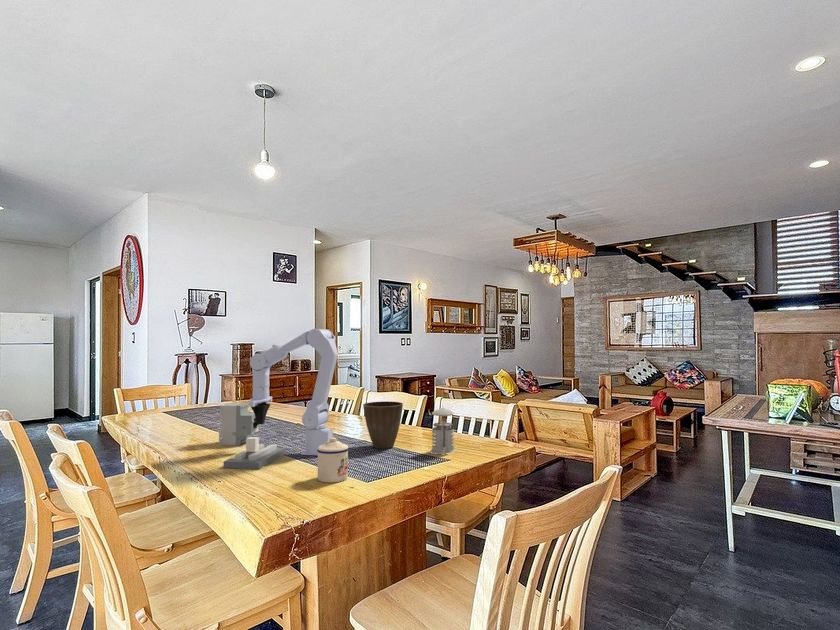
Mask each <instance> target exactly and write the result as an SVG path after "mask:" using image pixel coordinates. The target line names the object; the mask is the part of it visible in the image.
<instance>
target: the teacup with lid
mask: <svg viewBox="0 0 840 630" xmlns="http://www.w3.org/2000/svg"><path fill="white" fill-rule="evenodd" d="M349 450H350V448H349V446H348V444H346V443H343V442H341V441H339V440H337V437H334V436H333V438H330V439H329V441H328V442H326V443H325V444H323V445H320V446H319V447H318V448H317V451H318V455H317V480H318V481H319V482H321V483H327V484H329V483H330V484H331V483H334V482H335V483H339V482H340V481H341V482H344V481H345V480H348V477H349V476H348V475H349V474H348V473H349V472H348V471H349V469H348V468H349V460H348V459H349ZM343 480H344V481H343ZM341 482H340V483H341Z"/></svg>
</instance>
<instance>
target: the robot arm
mask: <svg viewBox="0 0 840 630" xmlns="http://www.w3.org/2000/svg"><path fill="white" fill-rule="evenodd" d="M305 345H307V346H308V345H309V346H311V347H312V348H314V350H315V351H317V352H318V354H319V355H320V356H321V359H320V364H319V366H318V372H317V376H316V380H315V384H314V385H315V386H314V387H313V388H314V389H313V393H312V397H311V400H310V402H309V404H308V405H307V406H306V410H305V412H303V414H302V416H301V422H302V424H303V426H304V427H305V428H304V429H305V431H304V432H305V433H304V435H305V436H304V439H305V440H304V441H305V442H304V445H305V447H304V451H303V452H301V453H300V455H301V456H318V451H317V448H318V447H319V446H320V445H323V444H325V443H326V442H328V441H329V439H330V438H333V437H334V431H333V429H332V428H330V427H327V425H326V424H327V422H328V420H329V418H330V414H329V408H330V407H329V406H330V405H329V403H328V398H329V395H330V390H331V385H332V382H333V377H334V374H335V370H336V364H337V359H338V355H339V352H338V348H337V345H336V336H335V335H334V333H333V332H332V331H331V330H330V329H328V328H327V329H326V328H323V329H321V328H312V329H309V330H308V331H305V332H303V333H302V334H300V335H298V336H297V337H295V338H293V339H292V340H290V341H288V342H287V343H285V344H280V343H279V344H277V343H273V344H272V345H271V346H272V347H271V348H269V349H267V350H262V351H261V353H255V354H254V355H252V356H251V358H250V360H249V365H250V367H251V368H252V397H251V398H249V401H248V402H247V403H248V408H249V407H250V408H251V410H252V412H254V414H255V418H256V422H257V424H259V425H263V424H265V421H266V417H267V413H268V411H269V408H270V407H271V402H273V396H270V372H271V370H270V369H271V367H272V366H273V365H275V364H277V363H279V362H280V361H283V360H285V359H286V358H287V357H288V353H291V352H293V351H295V350H297V349H299V348H302V347H303V346H305Z"/></svg>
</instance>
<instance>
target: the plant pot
mask: <svg viewBox="0 0 840 630" xmlns="http://www.w3.org/2000/svg"><path fill="white" fill-rule="evenodd" d="M403 406H404V403H403V402H400V401H387V400H386V401H371V402H366V403H363V406H362V407H363V413H364V419H365V423H366V428H367V432H368V435H369V437H370V440H371V443H372V444H371V445H373V448H374V447H376V448H375V449H378V448H387V449H391V448H390V447H392V448H393V447H394V446H395V442H396V440H397V437H398V434H399V429H400V426H401V425H400V423H401V420H402V414H403V413H402V412H403Z"/></svg>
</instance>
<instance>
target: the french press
mask: <svg viewBox="0 0 840 630" xmlns="http://www.w3.org/2000/svg"><path fill="white" fill-rule="evenodd" d="M445 385H446V382H445V381H441V382H440V386H445ZM431 415H432V416H435V417H436V416H437V417H449V416H450V417H451V416H453V415H455V412H454V411H453V410H451V409H448V408H444V407H442V408H437V409H436V410H434V411H432V412H431ZM447 419H448V418H446V419H445V421H443V418H441V419H440V420H441V422H434V423H433V426H434V427H432V429H431V432H432V433H431V435H432V436H431V438H432V439H431V440H432V441H431V442H432V445H431V446H432V447H431V449H430V450H431V452H432V453H436V454H435V455H437V454H446V453H452V452H455V451H457V450H456V449H455V428H454V426H453V425H454V424H453V423H452V422H448V420H447ZM432 453H431V454H432Z"/></svg>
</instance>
